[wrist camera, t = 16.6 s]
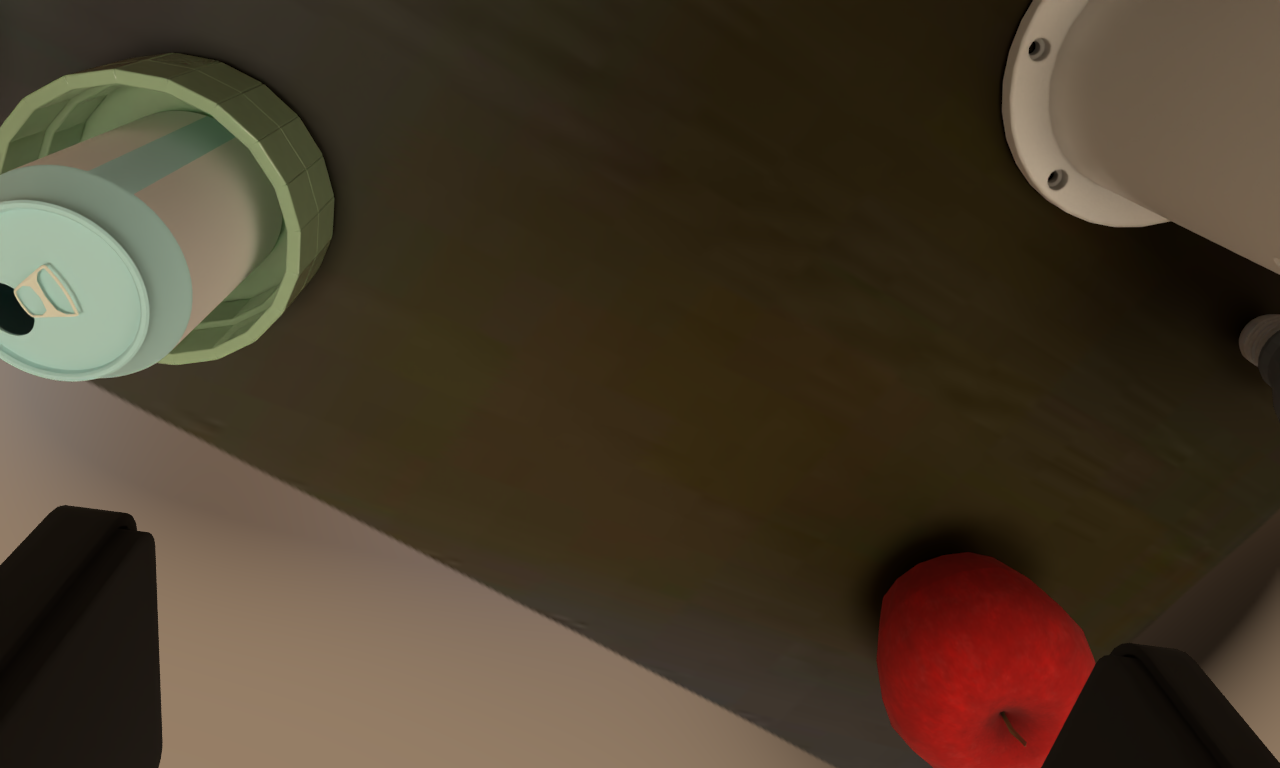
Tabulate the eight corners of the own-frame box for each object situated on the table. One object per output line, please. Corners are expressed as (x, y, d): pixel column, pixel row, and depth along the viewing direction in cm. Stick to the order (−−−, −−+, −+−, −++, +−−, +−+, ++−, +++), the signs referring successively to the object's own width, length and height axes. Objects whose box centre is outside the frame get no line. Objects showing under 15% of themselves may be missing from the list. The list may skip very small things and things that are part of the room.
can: (247, 304, 40) (120, 438, 30) (86, 220, 39) (-111, 330, 28) (315, 169, 38) (206, 261, 27) (148, 72, 36) (-41, 130, 25)
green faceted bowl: (343, 81, 37) (305, 104, 32) (330, 330, 42) (295, 383, 37) (54, 26, 36) (-32, 41, 31) (73, 290, 40) (1, 340, 35)
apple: (956, 478, 47) (1053, 621, 37) (1063, 581, 50) (1178, 738, 40) (810, 594, 50) (864, 756, 40) (920, 684, 53) (994, 855, 43)
